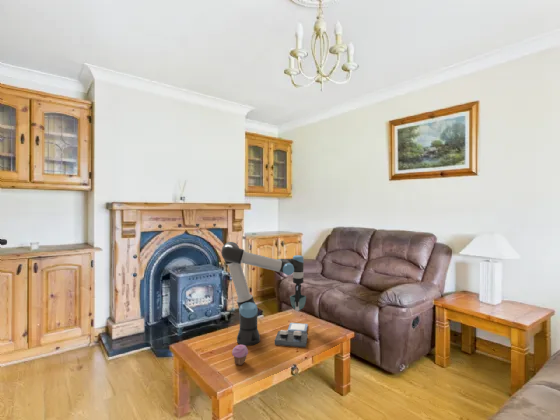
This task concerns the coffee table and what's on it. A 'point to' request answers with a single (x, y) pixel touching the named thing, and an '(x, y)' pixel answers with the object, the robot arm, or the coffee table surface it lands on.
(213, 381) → the coffee table surface
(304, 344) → the breaker panel
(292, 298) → the flower pot
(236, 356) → the cupcake
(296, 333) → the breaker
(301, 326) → the pad
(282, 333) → the block
